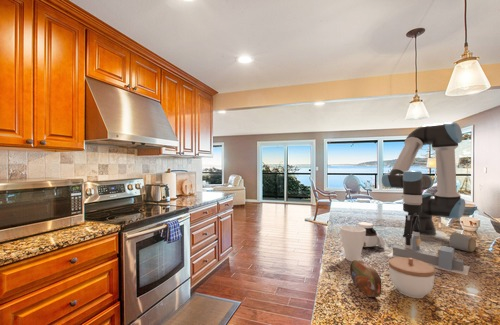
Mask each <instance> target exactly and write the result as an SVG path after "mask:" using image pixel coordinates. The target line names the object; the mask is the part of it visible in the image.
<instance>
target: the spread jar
mask: <svg viewBox="0 0 500 325" xmlns="http://www.w3.org/2000/svg"><path fill="white" fill-rule="evenodd" d="M357 226H358V227H362V228H365V229H366V235H365V240H364V245H363V248H362V250H363V249H364V250H372V249H374V248H376V247H378V248H380V249H382V248H385V246H386V245H385V242H384V240H383V237H382V236H381V235H380V234H379V233H377V231H376V230H375V229H374V224H373V223H371V222H365V221H363V222H362V221H361V222H360V221H359V222H358V223H357Z"/></svg>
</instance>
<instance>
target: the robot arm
mask: <svg viewBox="0 0 500 325" xmlns="http://www.w3.org/2000/svg"><path fill="white" fill-rule="evenodd" d="M462 142H463V132H462V128H461V126H460V125H459V124H458V123H457V122H456V121H455V122H454V121H450V122H447V121H446V122H442V123H441V122H440V123H439V122H438V123H433V124H424V125H421V126H419V127H417V128H415V129H414V130H412V132H410V133H409V134H407V136H406V138H405V140H404V146H403V148H402V149H401V152H400V154H399V155H398V157H397V159H396V161H395V163H394V165H393V167H392V169H391V171H390V172H388V173H384V174H383V175H382V176H381V184H382V186H383V187H384V188H390V189H393V188H394V189H402V190H403V191H402V196H401V198H402V199H403V200H402V201H403V203H402V211H404V212H405V213H407V214H406V215H405V222H404V227H403V228H404V229H403V235H402V237H403V238H404V248H408V249H412V235H414V236H420V237H421V234H422V235H434V234H436V232H437V230H436V226H435V224H434V221H433V217H439V218H444V219H449V220H450V219H454V220H459V219H461V218H462V217H463V215H464V214H465V213H464V212H465V210H466V200H465V198H461V194H460V193H459V192H458V191H457V172H456V169H457V168H456V151H455V150H456V149H457V148H458V147H459V144H460V143H462ZM425 145H428V146H429V145H431V148H432V149H433V150H434V151H435V166H436V167H435V170H436V186H437V187H436V188H437V189H436V190H437V191H436V192H434V194H432V193H429V192H428V193H427V192H426V193H424V192H423V191H427V190H429V189H430V188H433V185H434V179H433V178H432V177H431V176H430V175H428V174H423V173H422V171H419V170H410V169H411V166H412V164H413V163H414V161H415V158H416V156H417V154H418V152H419V151H420V150H421V149H422V148H423V147H424V146H425Z"/></svg>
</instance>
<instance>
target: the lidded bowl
mask: <svg viewBox="0 0 500 325" xmlns="http://www.w3.org/2000/svg"><path fill="white" fill-rule="evenodd" d="M388 272H389V277H390V281H391V283H392V284H393V285H394V287H395V288H396V289H397V291H398V293H400V294H401V295H403V296H405V297H408V298H412V299H423V298H425V296H427V295H428V294H430V293H431V292H432V290H433V288H434V284H435V274H436V268H435V267H433V266H431V265H430V264H428V263H426V262H423V261H420V260H416V259H413V258H405V257H395V258H393V257H390V259H389V260H388Z"/></svg>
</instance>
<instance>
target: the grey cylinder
mask: <svg viewBox="0 0 500 325" xmlns="http://www.w3.org/2000/svg"><path fill="white" fill-rule="evenodd" d="M449 247H451V248H454V249H456V250H459V251H464V252H468V253H472V252H474V251H475V249H476V247H477V241H476V239H475V238H474V237H472V236H470V235H466V234H463V233H460V232H459V233H458V232H452V233H451V234H450V236H449Z"/></svg>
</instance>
